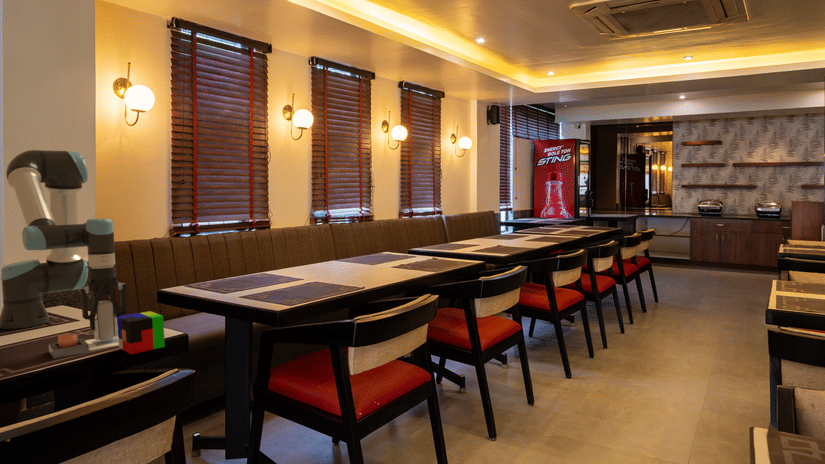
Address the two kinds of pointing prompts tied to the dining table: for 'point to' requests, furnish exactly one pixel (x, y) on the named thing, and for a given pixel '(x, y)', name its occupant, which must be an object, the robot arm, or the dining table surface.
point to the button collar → (68, 349)
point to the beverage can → (105, 320)
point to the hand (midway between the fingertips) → (106, 337)
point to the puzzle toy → (140, 332)
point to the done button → (68, 340)
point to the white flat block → (102, 343)
